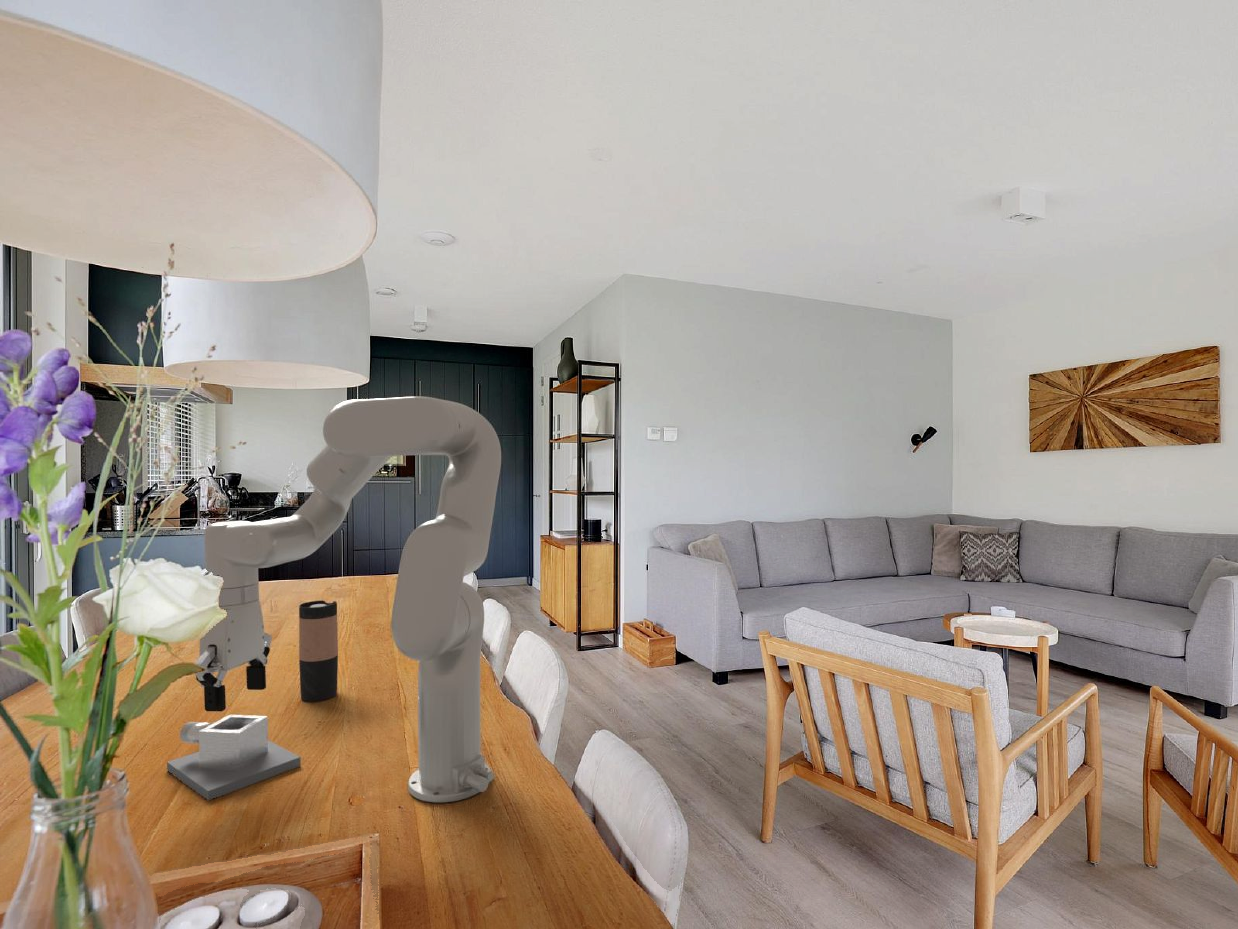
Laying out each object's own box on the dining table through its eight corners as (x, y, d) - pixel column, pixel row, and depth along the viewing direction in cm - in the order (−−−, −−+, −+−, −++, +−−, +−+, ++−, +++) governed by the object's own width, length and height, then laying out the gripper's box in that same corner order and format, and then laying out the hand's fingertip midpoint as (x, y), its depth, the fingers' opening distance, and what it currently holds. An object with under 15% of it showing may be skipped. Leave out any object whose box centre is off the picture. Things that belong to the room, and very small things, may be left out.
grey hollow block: (267, 751, 112) (267, 716, 112) (239, 770, 105) (239, 733, 105) (203, 748, 114) (202, 713, 114) (171, 767, 107) (170, 730, 107)
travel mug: (301, 705, 137) (300, 609, 137) (297, 694, 144) (296, 602, 144) (341, 698, 141) (340, 605, 141) (335, 687, 148) (334, 598, 148)
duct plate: (300, 766, 110) (300, 730, 110) (208, 801, 99) (207, 761, 99) (255, 741, 120) (255, 708, 120) (167, 771, 108) (166, 734, 108)
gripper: (247, 586, 118) (251, 682, 118) (170, 608, 101) (174, 719, 101) (286, 586, 117) (290, 682, 117) (215, 607, 100) (219, 720, 100)
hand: (236, 699), depth 109 cm, fingers open, 9 cm apart
